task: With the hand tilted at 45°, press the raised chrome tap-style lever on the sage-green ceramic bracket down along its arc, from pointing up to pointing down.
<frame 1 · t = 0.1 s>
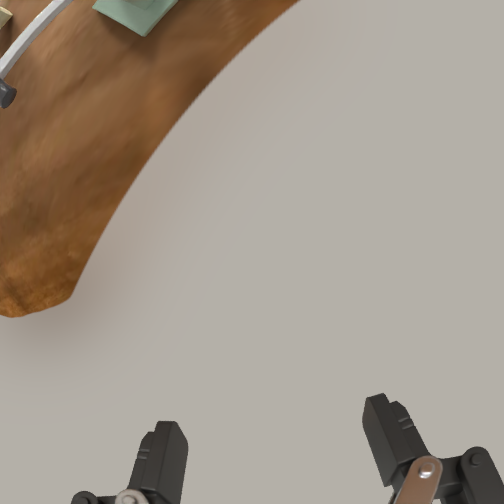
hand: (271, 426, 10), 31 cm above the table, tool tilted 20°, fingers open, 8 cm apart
lever: (48, 14, 10), point 15 cm above the table, hinge at 28.0°
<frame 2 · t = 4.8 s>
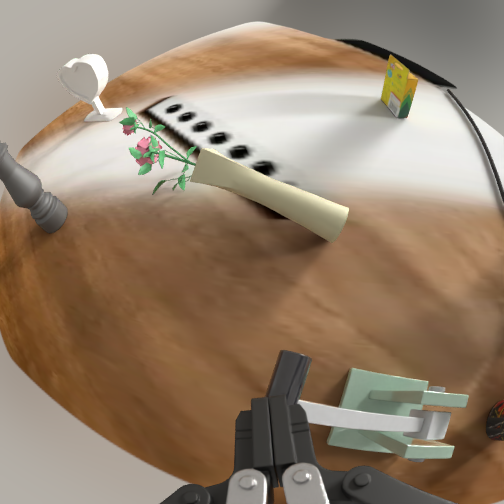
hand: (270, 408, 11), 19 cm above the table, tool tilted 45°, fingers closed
flower vase: (223, 195, 41), on the table
crayon box: (393, 108, 48), on the table
deodorant: (498, 419, 21), on the table
candle holder: (56, 219, 43), on the table
bracket: (378, 413, 25), on the table
lever: (374, 421, 13), point 15 cm above the table, hinge at 25.4°, touching gripper
heart sculpture: (102, 115, 58), on the table
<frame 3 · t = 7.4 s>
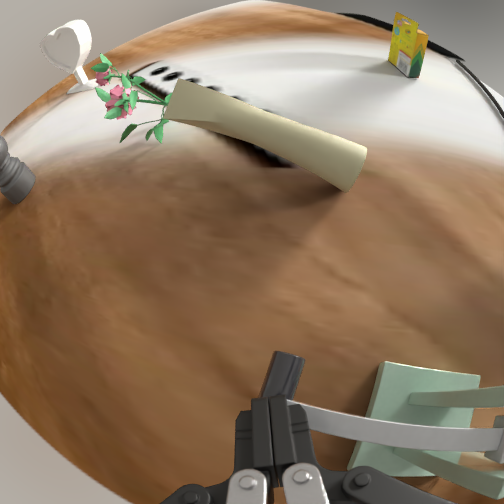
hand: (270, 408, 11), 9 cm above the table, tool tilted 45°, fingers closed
flower vase: (208, 145, 31), on the table
crayon box: (402, 69, 38), on the table
candle holder: (23, 189, 34), on the table
bracket: (418, 423, 16), on the table
lever: (408, 435, 9), point 10 cm above the table, hinge at -21.2°, touching gripper
heart sculpture: (85, 86, 48), on the table
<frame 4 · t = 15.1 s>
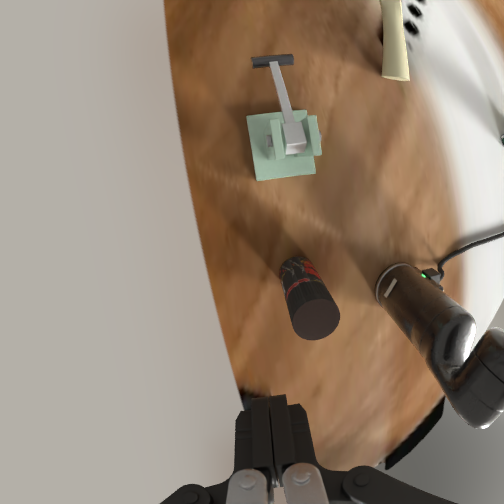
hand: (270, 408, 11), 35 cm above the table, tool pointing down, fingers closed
flower vase: (377, 6, 31), on the table
deodorant: (296, 272, 47), on the table
bracket: (280, 144, 40), on the table
lever: (282, 96, 30), point 9 cm above the table, hinge at -25.9°
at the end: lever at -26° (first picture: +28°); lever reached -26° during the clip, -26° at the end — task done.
